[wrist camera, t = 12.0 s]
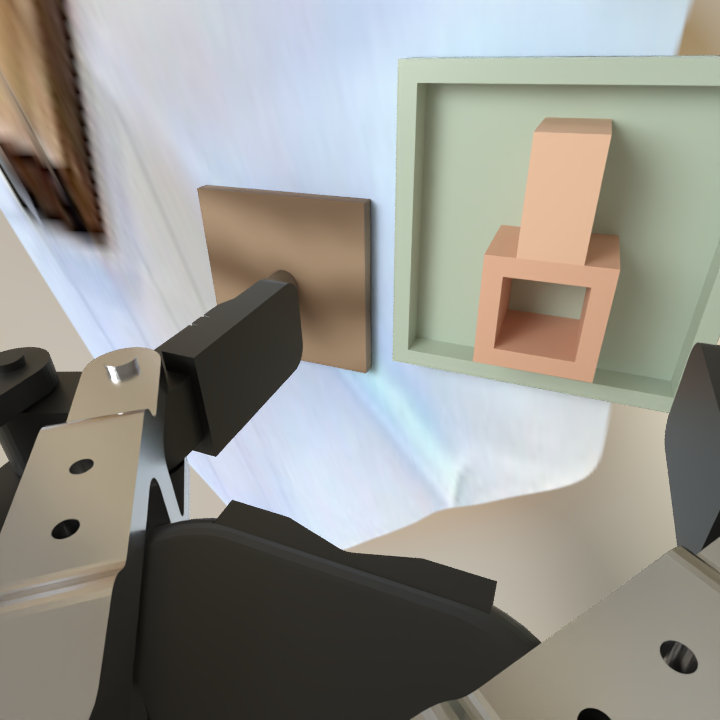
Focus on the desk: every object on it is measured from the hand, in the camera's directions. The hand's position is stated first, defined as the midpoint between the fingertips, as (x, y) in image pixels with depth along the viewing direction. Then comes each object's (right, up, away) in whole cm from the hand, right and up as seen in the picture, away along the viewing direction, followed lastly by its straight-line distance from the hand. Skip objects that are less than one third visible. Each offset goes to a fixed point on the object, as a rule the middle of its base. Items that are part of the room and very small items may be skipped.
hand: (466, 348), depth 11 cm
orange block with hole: (+8, +7, +17) cm, 20 cm away
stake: (-7, +6, +26) cm, 28 cm away
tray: (+9, +7, +18) cm, 21 cm away
